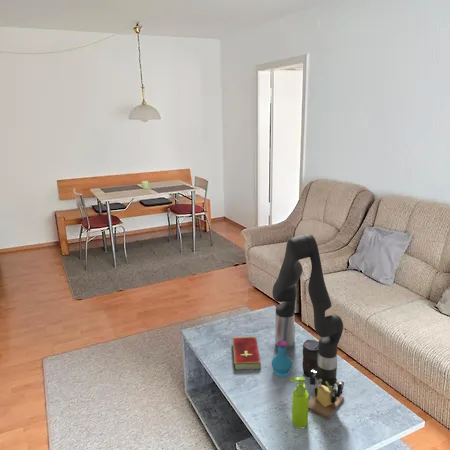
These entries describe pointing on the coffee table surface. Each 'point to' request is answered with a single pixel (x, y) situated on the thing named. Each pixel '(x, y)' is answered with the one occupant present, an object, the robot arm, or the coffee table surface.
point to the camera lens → (310, 356)
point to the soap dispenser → (300, 403)
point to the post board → (320, 409)
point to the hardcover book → (246, 353)
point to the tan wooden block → (324, 395)
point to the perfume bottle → (281, 360)
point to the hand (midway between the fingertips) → (325, 398)
